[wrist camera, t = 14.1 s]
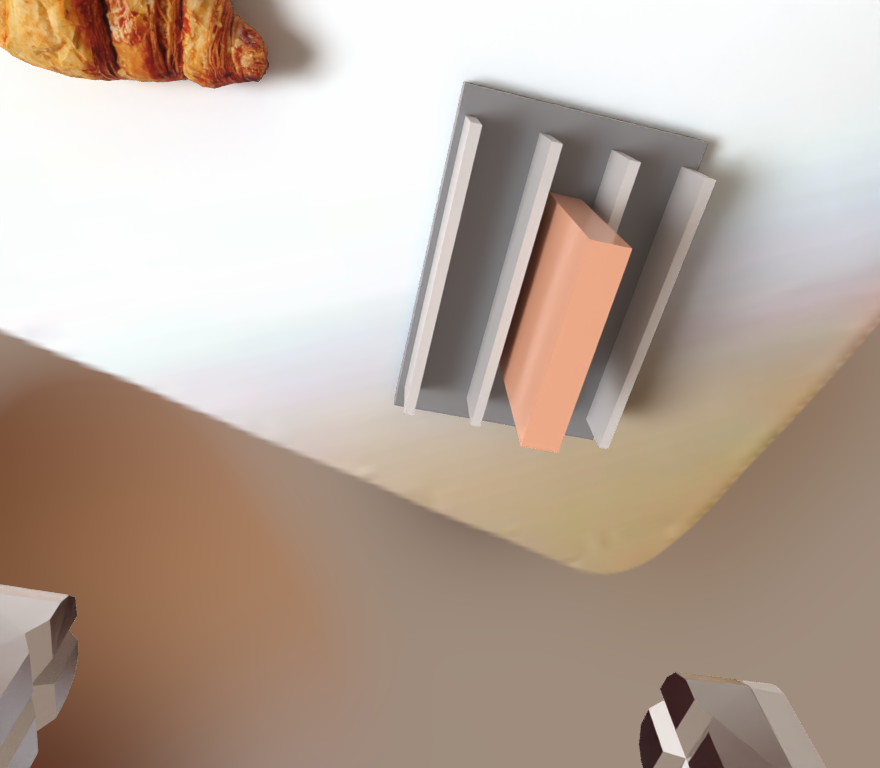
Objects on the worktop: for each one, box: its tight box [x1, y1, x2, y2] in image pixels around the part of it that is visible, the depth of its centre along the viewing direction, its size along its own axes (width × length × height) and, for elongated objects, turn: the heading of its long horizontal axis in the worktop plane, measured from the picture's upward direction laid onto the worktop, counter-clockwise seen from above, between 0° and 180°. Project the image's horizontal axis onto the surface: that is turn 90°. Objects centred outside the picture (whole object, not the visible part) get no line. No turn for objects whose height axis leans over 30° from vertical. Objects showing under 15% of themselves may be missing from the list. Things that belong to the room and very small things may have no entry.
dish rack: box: [394, 82, 716, 449], centre depth 39 cm, size 20×14×5 cm
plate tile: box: [499, 192, 632, 453], centre depth 36 cm, size 11×2×10 cm, turn 167°
